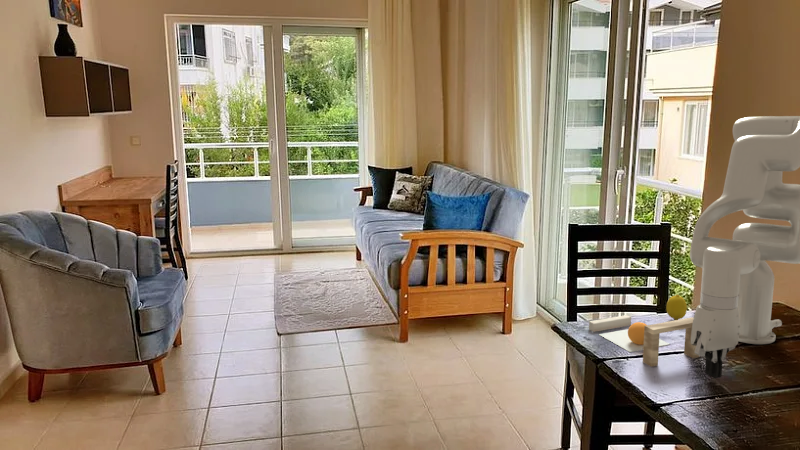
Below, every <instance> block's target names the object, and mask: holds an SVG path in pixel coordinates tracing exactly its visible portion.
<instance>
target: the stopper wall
mask: <svg viewBox="0 0 800 450" xmlns="http://www.w3.org/2000/svg"><path fill="white" fill-rule="evenodd" d="M631 325H632V317H631V316H629V315H627V314H624V315H619V316H613V317H608V318H601V319H596V320H590V321H588V330H589V331H590V332H593V333H594V332H600V331H606V330H607V331H608V330H612V329H617V328H618V329H619V328H625V327H630V326H631Z"/></svg>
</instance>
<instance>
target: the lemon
mask: <svg viewBox="0 0 800 450" xmlns="http://www.w3.org/2000/svg"><path fill="white" fill-rule="evenodd" d="M687 305H688V304H687V301H686V300H685V298H684V297H682V296H681V295H679V294H675V295H673V296H671V297H669V298H668V300H667V302H666V306H665V307H666V313H667V315H668V316H669V317H670V318H671V319H673V321H675V320H680V319H684V317H685V316H686V314H687V310H688V306H687Z"/></svg>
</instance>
